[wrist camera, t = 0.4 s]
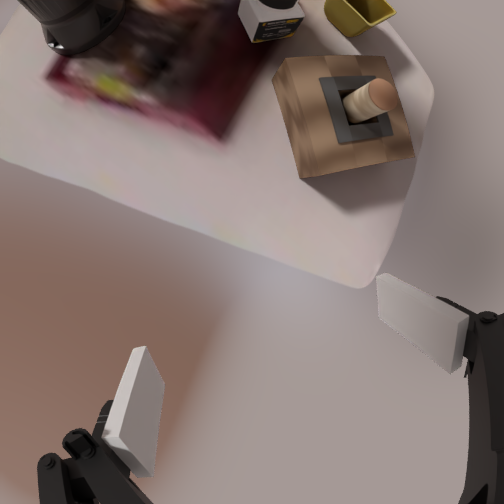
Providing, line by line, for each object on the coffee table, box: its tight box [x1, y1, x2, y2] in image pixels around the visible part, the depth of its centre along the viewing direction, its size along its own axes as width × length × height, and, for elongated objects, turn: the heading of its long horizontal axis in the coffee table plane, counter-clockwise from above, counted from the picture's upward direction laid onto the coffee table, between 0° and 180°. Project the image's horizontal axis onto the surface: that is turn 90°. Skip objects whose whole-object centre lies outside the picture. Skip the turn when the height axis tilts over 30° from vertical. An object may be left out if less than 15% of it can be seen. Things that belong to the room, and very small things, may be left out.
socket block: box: [272, 55, 415, 178], centre depth 36 cm, size 16×16×8 cm
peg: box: [341, 78, 398, 123], centre depth 30 cm, size 4×4×8 cm
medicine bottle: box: [238, 0, 305, 43], centre depth 29 cm, size 7×7×12 cm
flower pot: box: [324, 0, 396, 37], centre depth 32 cm, size 9×9×9 cm
